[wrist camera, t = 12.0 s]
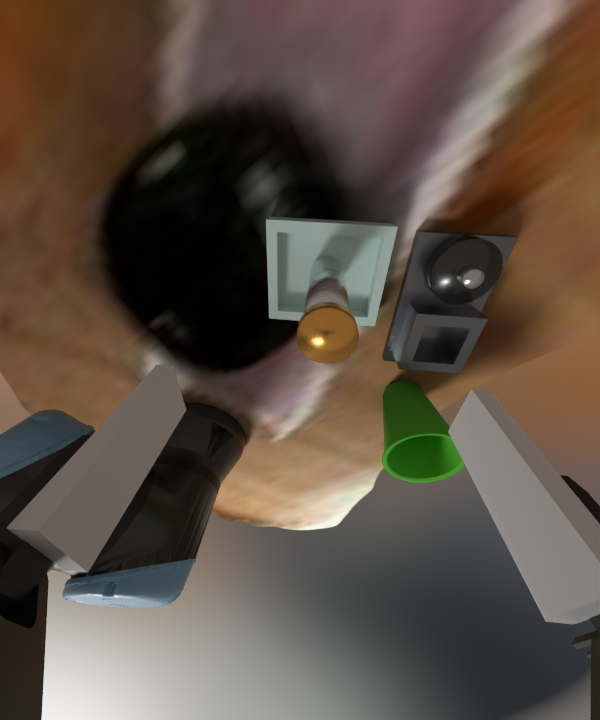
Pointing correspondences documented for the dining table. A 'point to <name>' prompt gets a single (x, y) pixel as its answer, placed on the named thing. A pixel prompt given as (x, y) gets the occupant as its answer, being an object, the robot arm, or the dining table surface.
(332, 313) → the pin
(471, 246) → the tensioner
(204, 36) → the dining table surface
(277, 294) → the tray
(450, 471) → the cup
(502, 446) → the robot arm
